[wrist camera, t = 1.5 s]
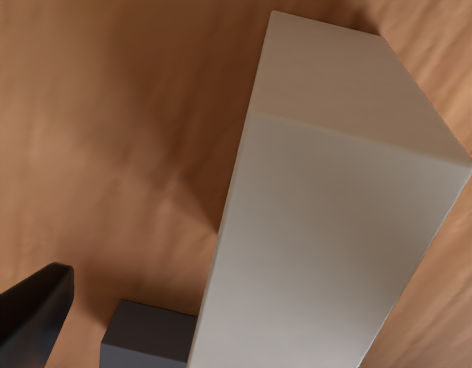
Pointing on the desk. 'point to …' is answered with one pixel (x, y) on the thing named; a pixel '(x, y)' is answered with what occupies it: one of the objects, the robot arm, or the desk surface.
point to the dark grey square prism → (147, 338)
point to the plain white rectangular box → (324, 202)
